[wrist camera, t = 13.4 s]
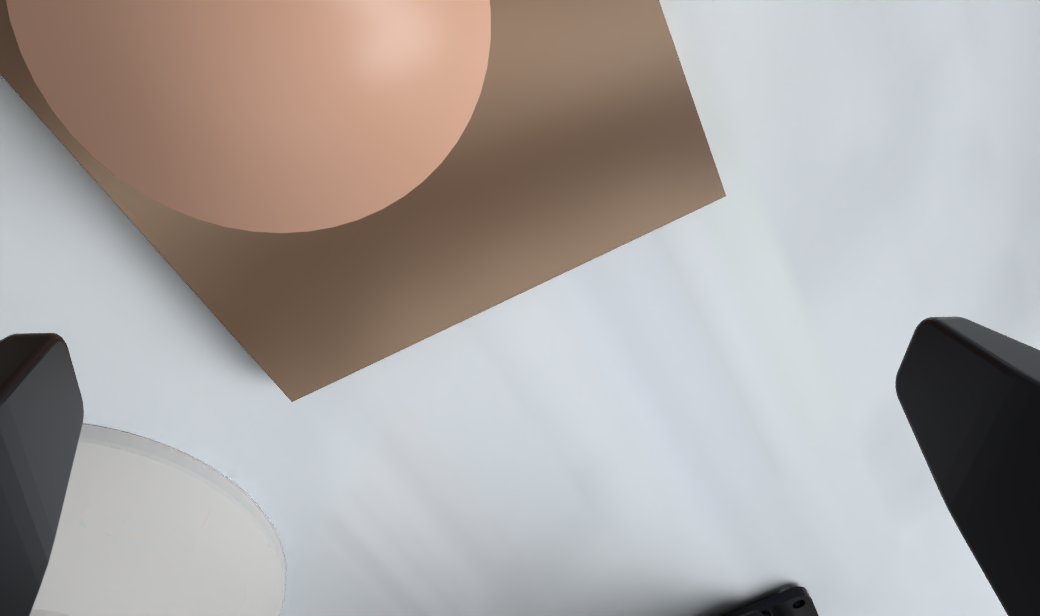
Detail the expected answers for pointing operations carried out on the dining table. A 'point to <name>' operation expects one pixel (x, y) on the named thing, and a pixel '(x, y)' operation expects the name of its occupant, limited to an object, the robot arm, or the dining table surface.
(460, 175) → the post board
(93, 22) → the cap
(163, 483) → the candlestick
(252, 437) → the dining table surface
